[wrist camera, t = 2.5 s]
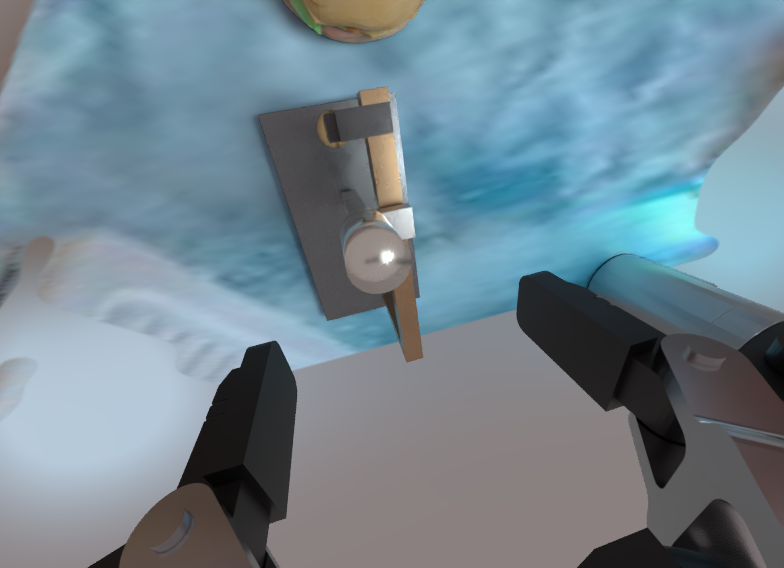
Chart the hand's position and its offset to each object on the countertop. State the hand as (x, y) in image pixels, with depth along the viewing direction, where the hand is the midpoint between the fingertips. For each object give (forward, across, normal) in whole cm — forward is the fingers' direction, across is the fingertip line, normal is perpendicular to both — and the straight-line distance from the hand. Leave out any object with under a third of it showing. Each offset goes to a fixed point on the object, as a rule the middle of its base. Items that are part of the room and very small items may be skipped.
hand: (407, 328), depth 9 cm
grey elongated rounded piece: (+22, -1, 0) cm, 22 cm away
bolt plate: (+24, 0, +3) cm, 24 cm away
